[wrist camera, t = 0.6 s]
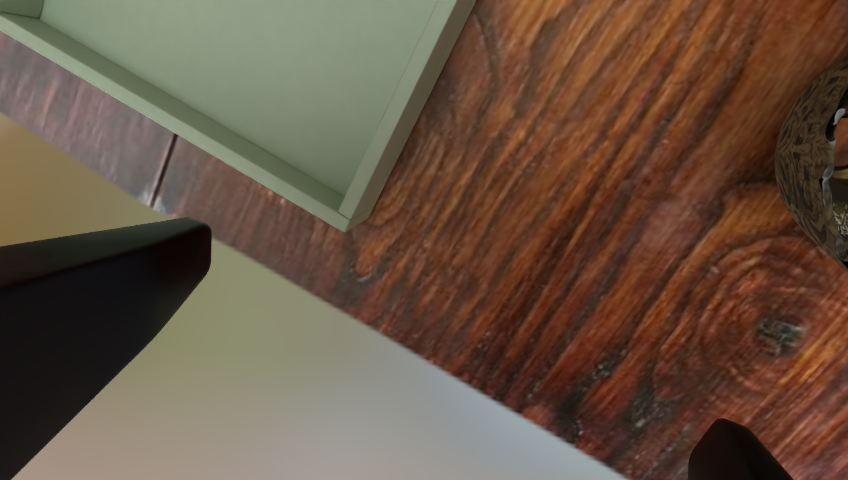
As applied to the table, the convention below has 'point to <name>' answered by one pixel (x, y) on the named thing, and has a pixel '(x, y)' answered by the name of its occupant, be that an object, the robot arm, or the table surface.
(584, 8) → the table surface
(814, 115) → the ornate lamp shade
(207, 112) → the tray
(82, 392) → the robot arm
